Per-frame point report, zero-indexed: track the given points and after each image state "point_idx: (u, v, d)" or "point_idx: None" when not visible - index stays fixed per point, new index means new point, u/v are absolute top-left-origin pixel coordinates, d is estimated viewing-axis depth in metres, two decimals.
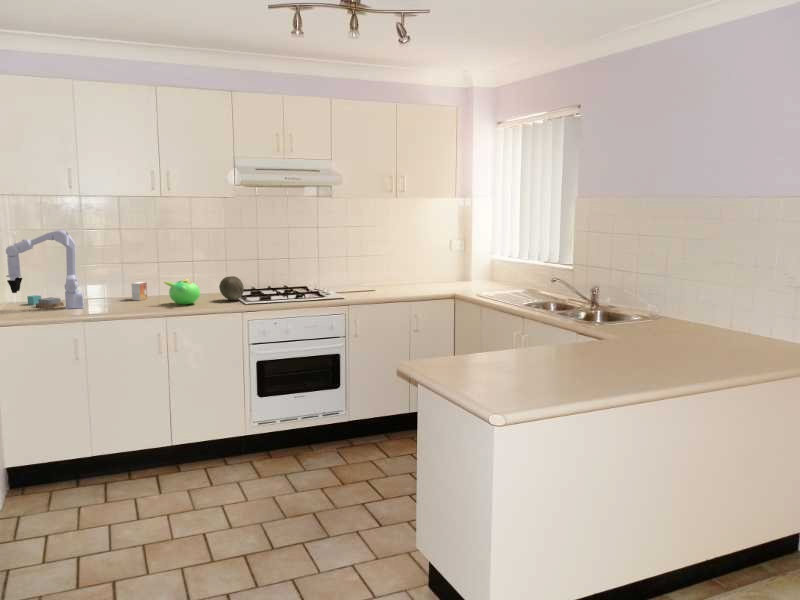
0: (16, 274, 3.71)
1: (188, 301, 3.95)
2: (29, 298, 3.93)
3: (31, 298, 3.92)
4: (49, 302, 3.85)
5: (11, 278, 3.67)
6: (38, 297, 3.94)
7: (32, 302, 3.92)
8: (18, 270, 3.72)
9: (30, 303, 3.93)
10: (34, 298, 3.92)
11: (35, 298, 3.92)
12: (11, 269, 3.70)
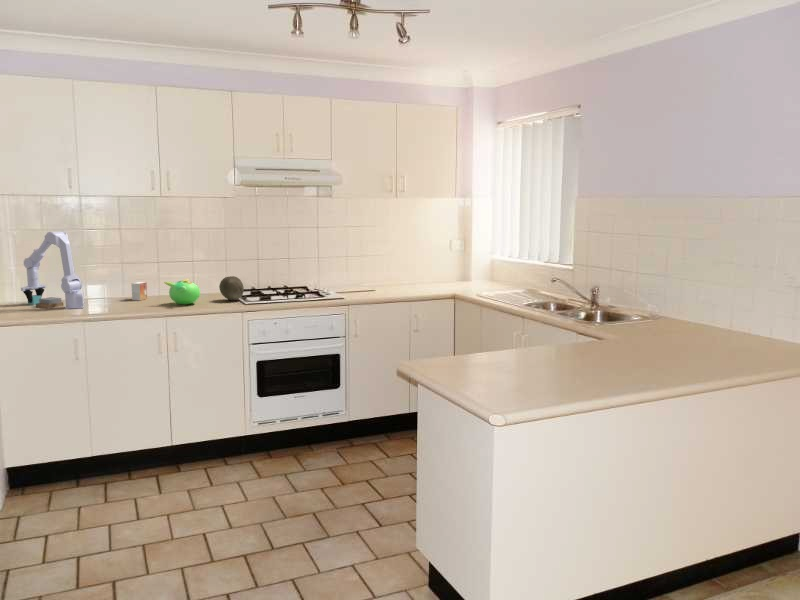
0: (31, 285, 3.91)
1: (188, 301, 3.95)
2: None
3: None
4: (50, 302, 3.85)
5: (21, 289, 3.87)
6: (38, 297, 3.94)
7: (32, 302, 3.92)
8: (33, 282, 3.91)
9: (30, 303, 3.93)
10: (34, 298, 3.92)
11: (35, 298, 3.92)
12: (27, 280, 3.91)
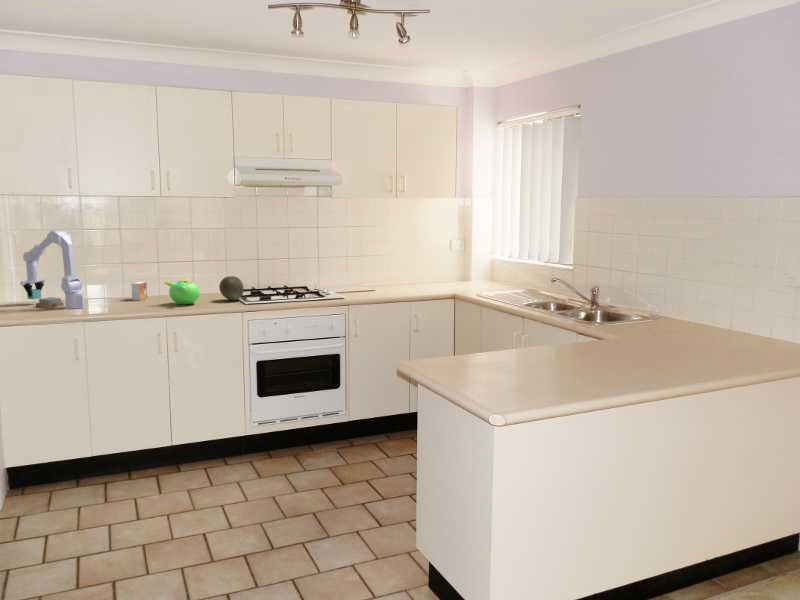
0: (30, 279, 3.90)
1: (188, 301, 3.95)
2: None
3: None
4: (50, 302, 3.85)
5: (21, 283, 3.87)
6: (38, 291, 3.94)
7: (32, 296, 3.91)
8: (33, 275, 3.90)
9: (30, 297, 3.92)
10: (34, 292, 3.91)
11: (35, 292, 3.92)
12: (27, 274, 3.90)
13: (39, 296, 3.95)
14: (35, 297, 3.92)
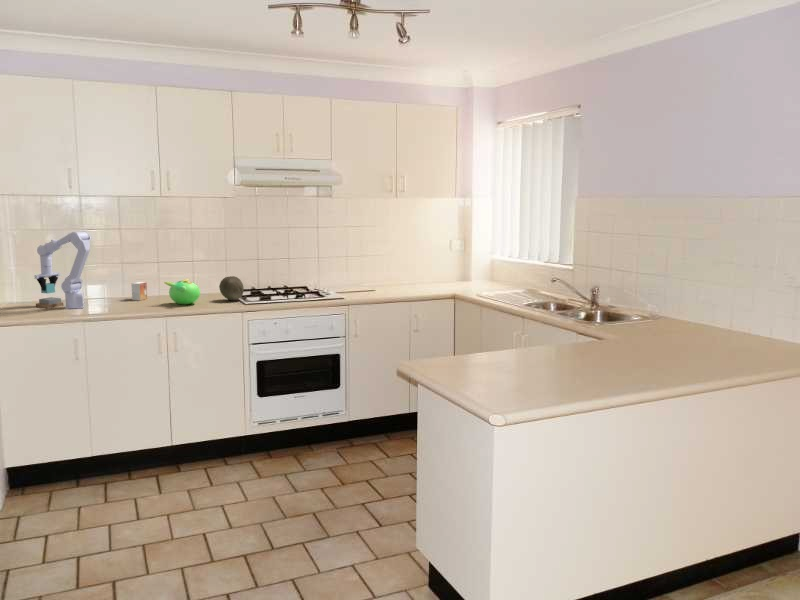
0: (44, 273, 3.84)
1: (188, 301, 3.95)
2: None
3: None
4: (50, 302, 3.85)
5: (35, 276, 3.81)
6: (51, 285, 3.88)
7: None
8: (47, 269, 3.84)
9: (43, 291, 3.87)
10: (47, 286, 3.86)
11: (48, 286, 3.86)
12: (41, 268, 3.85)
13: (53, 290, 3.89)
14: (49, 291, 3.87)
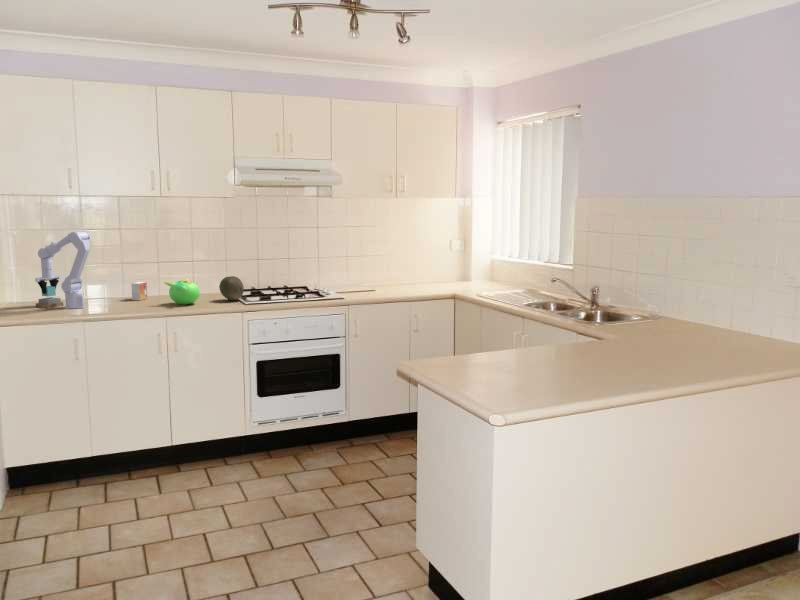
0: (45, 276, 3.84)
1: (188, 301, 3.95)
2: None
3: None
4: (49, 302, 3.85)
5: (35, 279, 3.81)
6: (52, 288, 3.88)
7: (46, 293, 3.86)
8: (47, 272, 3.84)
9: (44, 294, 3.87)
10: (48, 289, 3.86)
11: (49, 289, 3.86)
12: (42, 271, 3.85)
13: (53, 293, 3.89)
14: (49, 294, 3.87)
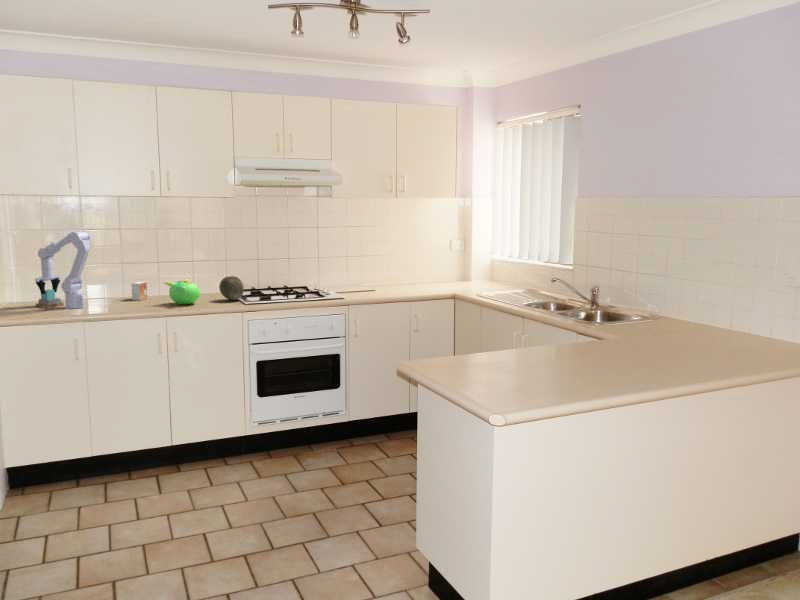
0: (45, 276, 3.84)
1: (188, 301, 3.95)
2: None
3: None
4: (49, 302, 3.85)
5: (35, 279, 3.81)
6: (51, 291, 3.88)
7: (45, 296, 3.86)
8: (47, 272, 3.84)
9: (43, 297, 3.86)
10: (48, 292, 3.85)
11: (49, 292, 3.86)
12: (42, 271, 3.85)
13: (53, 297, 3.89)
14: (49, 298, 3.87)
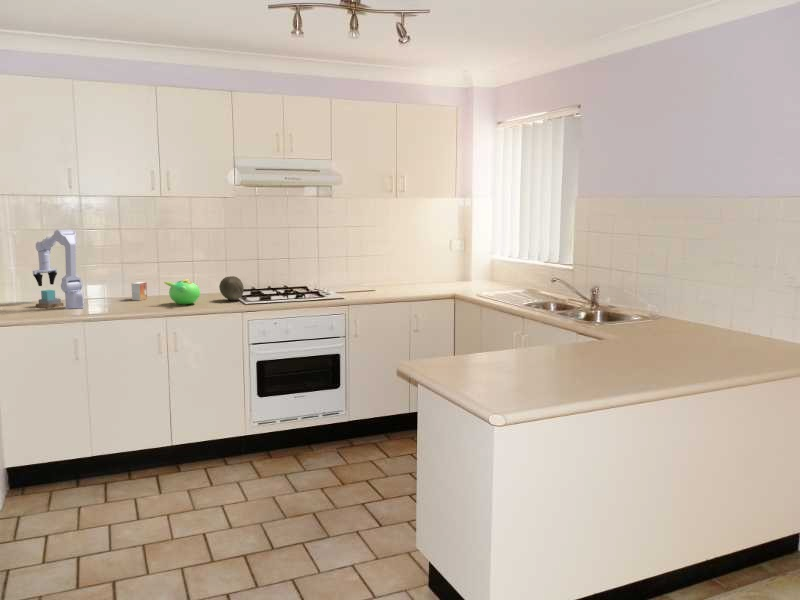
0: (42, 268, 3.95)
1: (188, 301, 3.95)
2: (43, 292, 3.86)
3: (45, 293, 3.85)
4: (49, 302, 3.85)
5: (33, 272, 3.91)
6: (52, 292, 3.88)
7: (46, 297, 3.86)
8: (45, 265, 3.95)
9: (44, 298, 3.86)
10: (48, 293, 3.85)
11: (49, 293, 3.86)
12: (39, 264, 3.95)
13: (53, 297, 3.89)
14: (49, 298, 3.86)
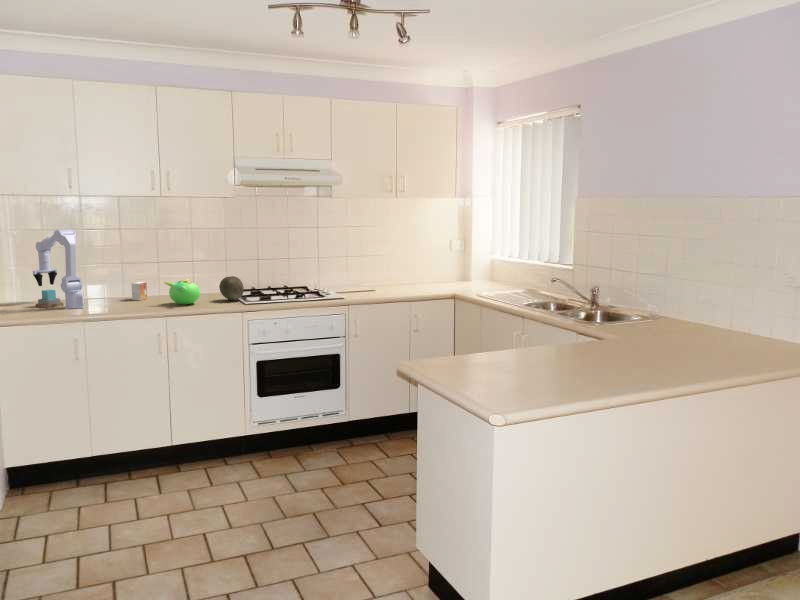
0: (42, 269, 3.95)
1: (188, 301, 3.95)
2: (43, 292, 3.87)
3: (45, 292, 3.86)
4: (49, 302, 3.85)
5: (33, 272, 3.92)
6: (52, 291, 3.88)
7: (46, 296, 3.86)
8: (45, 265, 3.95)
9: (44, 297, 3.87)
10: (48, 292, 3.86)
11: (49, 292, 3.86)
12: (39, 264, 3.95)
13: (54, 297, 3.89)
14: (49, 298, 3.87)
